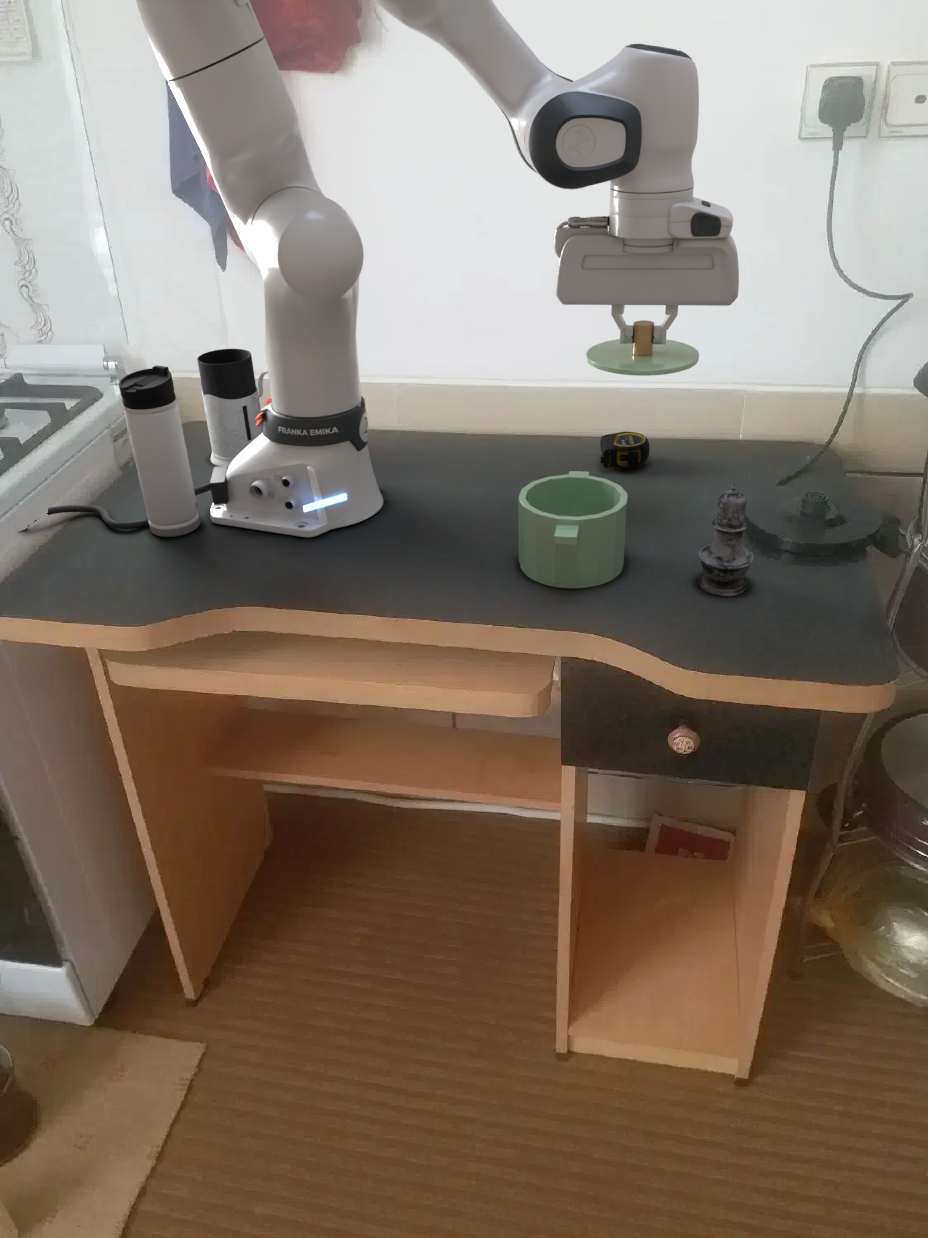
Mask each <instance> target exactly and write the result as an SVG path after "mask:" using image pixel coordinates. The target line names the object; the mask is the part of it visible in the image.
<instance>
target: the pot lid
mask: <svg viewBox="0 0 928 1238" xmlns="http://www.w3.org/2000/svg"><path fill="white" fill-rule="evenodd" d="M632 325H633V344H620V338H618V339H611V340H607V341H603V342H599V343H597V344H594V345H592V346H591V347H589V348H588V349H587V351H586V353H585V360H586V363H588V364H589V365H590V366H591V367H593V368H595V369H598V370H600V371H603V372H607V373H611V374H616V375H624V376H639V377H640V376H641V377H642V376H643V377H644V376H645V377H646V376H649V377H650V376H663V375H670V374H675V373H680V372H684V371H687V370H689V369H691V368H693V367H695V366H696V365H697V364H698V362H699V361H700V352H699V351H698V349H696V348H695V347H694V346H692V345H689V344H688V343H685V342H683V341H682V342H681V341H677V340H673V339H667V338H666V344H653V338H654V326H655V322H654V321H652V320H645V319H642V320H641V319H640V320H636V321H634V322H633V323H632Z"/></svg>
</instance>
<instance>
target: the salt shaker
mask: <svg viewBox="0 0 928 1238" xmlns="http://www.w3.org/2000/svg"><path fill="white" fill-rule="evenodd" d="M737 489H738V486H737V485H736V484H735V483H733V484H732V485H731V486H730V489H729V490H725V491H724V492H722V493H721V494H720V495H719V497H718V499H717V500H718V501H717V511H716V518H714V519H713V520H712V523H711V524H712V526H713V527H714V532H713V540H712V542H711V543H710V544H708V545H705V546H703V547H702V548H700V550H699V551H698V558H699V560H700V564H701V568H702V570H703V572H704V573H705V574H703V575H701V576H700V578H698V581H697V582H698V586H699V588H701V590H703V591H704V592H706V593H708V594H711V595H714V596H719V597H720V596H721V597H734V596H739V595H741V594H743V593H745V592H746V590H748V581H747V580H746V579H745V578H744V577H745V575H746V574H747V573H748V571H749V569H750V568H751V565H752V564H753V563H754V561H755V556H754V553H753V552H752V551H750V550H749V549H748V548H746V547H744V544H743V539H744V531H745V530H746V529H747V528H748V522H747V521H745V519H746V517H745V516H746V510H747V503H748V502H747V497H746V496H745V494H744V493H743V492H741V491H738V490H737Z"/></svg>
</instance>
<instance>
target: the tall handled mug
mask: <svg viewBox="0 0 928 1238" xmlns="http://www.w3.org/2000/svg"><path fill="white" fill-rule="evenodd" d="M196 361H197V366H198V372H199V385H200V391H201V395H202V402H203V407H204V413H205V414H204V415H205V419H206V425H207V429H208V436H209V442H210V447H211V455H210V463H212V464H213V465H214V466H216V467H220V466H228V467H229V465H230V463H231V462H232V460H233V459H234V458H235V457H236V456H237V455H238V454H239V453H240V452H241V451H242V450H243V449H244V448H245V447H246V446H247V445H249V444H250V443H251V442H252V441H253V440H254V439H255V438H257V437H258V436H259V435H260V434H261V433H262V432H263V429H262V425H260V426H259V427H257V426H256V424H257V421H258V420H255V418H256V417H257V416H258V415H259V414H260V410H261V409H262V408H261V403H260V398H262V396H263V395H264V387H263V385H264V383H263V382H264V381H263V380H264V377H265V376H266V374H268V370H267V369H266V370H264V371H263V372H261V373H260V375H259V376H258V382H257V384H256V377H255V370H254V363H253V358H252V353H251V351H250V350H247V349H242V348H222V349H215V350H211V351H206V352H204V353H202V354H200V355H198V356H197V359H196Z"/></svg>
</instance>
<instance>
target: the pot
mask: <svg viewBox="0 0 928 1238" xmlns="http://www.w3.org/2000/svg"><path fill="white" fill-rule="evenodd" d="M628 496H629V494H628V493H627V491H626V490H625V488H623V487H622V486H621V485H620V484H619V483H616V482H613V481H612V480H609V479H607V478H604V477H603V478H602V477H598V476H593V475H590V471H582V470H581V471H579V470H569V471H568V474H560V475H559V474H558V475H551V476H546V477H542V478H539V479H536V480H533V481H531V482H530V483H528V484H526V485H525V486H524V487H523V488H521V489H520V492H519V495H518V497H517V498H518V501H517V502H518V504H517V506H518V509H517V510H518V511H517V512H518V514H517V515H518V516H517V517H518V521H517V522H518V562H519V567H520V570H521V571H522V573H523V574H524V576H526V577H528V578H529V579H531V580H532V581H535V582H536V583H539V584H542V585H544V586H548V587H553V588H560V589H586V588H593V587H597V586H601V585H603V584H606V583H609V582H611V581H612V580H615V579H616V578H617V577H618V576H619V575H620V574H621V573H622V571H623V569H624V565H625V552H626V551H625V550H626V536H627V535H626V533H627V516H628V515H627V514H628V512H627V511H628V498H629V497H628Z"/></svg>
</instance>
